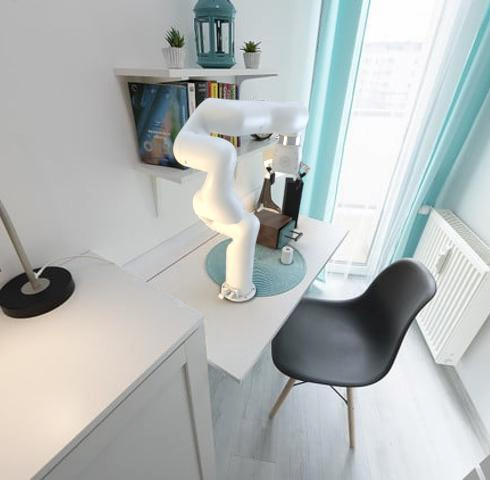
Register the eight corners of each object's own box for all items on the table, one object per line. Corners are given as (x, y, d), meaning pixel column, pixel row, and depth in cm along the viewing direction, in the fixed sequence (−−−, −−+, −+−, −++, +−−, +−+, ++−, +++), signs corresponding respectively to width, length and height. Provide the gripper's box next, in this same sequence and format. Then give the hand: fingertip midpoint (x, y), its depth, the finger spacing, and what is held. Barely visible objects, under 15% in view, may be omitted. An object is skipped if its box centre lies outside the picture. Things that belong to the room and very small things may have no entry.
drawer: (304, 240, 138) (307, 224, 134) (292, 253, 128) (295, 235, 124) (266, 228, 147) (268, 212, 143) (252, 239, 138) (254, 222, 133)
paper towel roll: (288, 265, 121) (290, 253, 118) (278, 261, 123) (280, 249, 120) (293, 260, 125) (295, 248, 122) (283, 257, 127) (285, 245, 124)
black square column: (296, 228, 151) (305, 176, 136) (281, 228, 151) (288, 175, 136) (294, 221, 157) (302, 171, 143) (280, 221, 157) (286, 170, 143)
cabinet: (288, 236, 143) (291, 217, 137) (275, 249, 132) (277, 228, 127) (261, 227, 150) (263, 208, 145) (246, 239, 139) (247, 219, 134)
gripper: (262, 139, 102) (259, 185, 111) (311, 145, 96) (303, 193, 105) (270, 135, 108) (266, 179, 116) (316, 141, 101) (309, 187, 110)
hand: (284, 186), depth 111 cm, fingers open, 9 cm apart
